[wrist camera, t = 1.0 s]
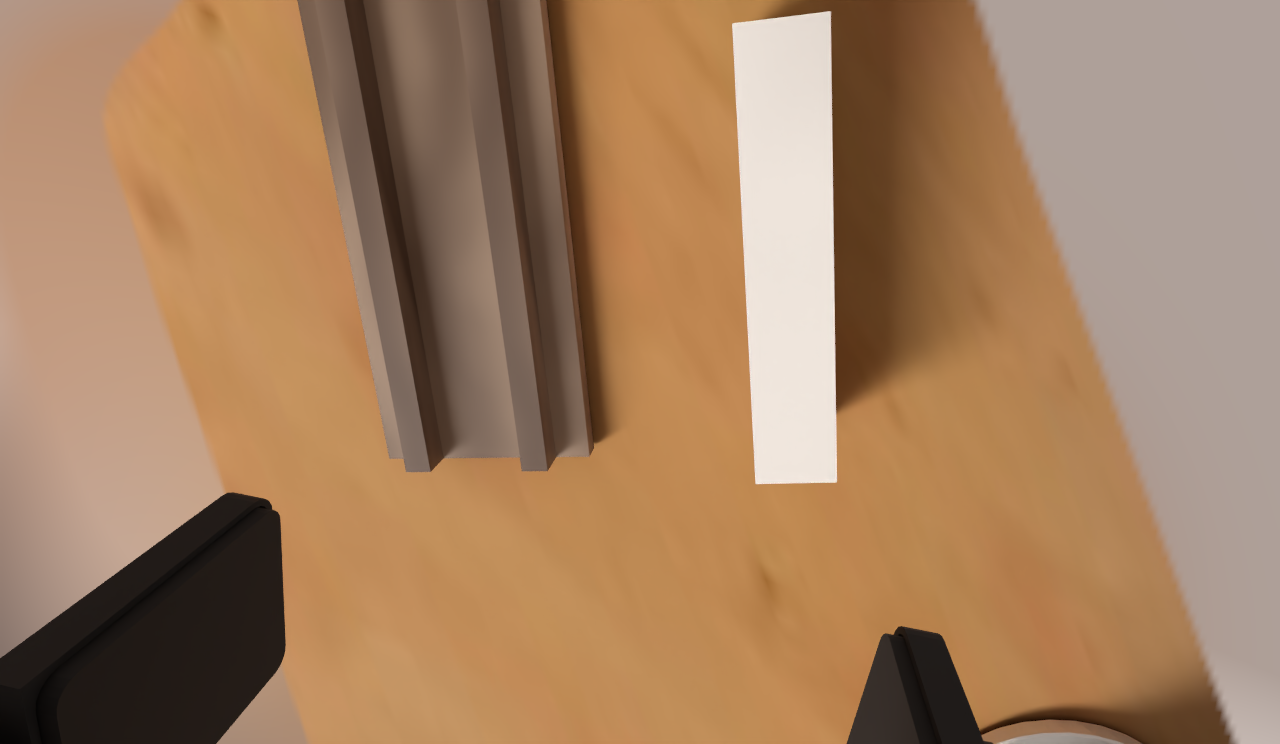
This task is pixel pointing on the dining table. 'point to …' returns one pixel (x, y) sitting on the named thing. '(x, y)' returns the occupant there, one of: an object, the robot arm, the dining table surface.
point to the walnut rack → (455, 223)
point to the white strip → (788, 242)
